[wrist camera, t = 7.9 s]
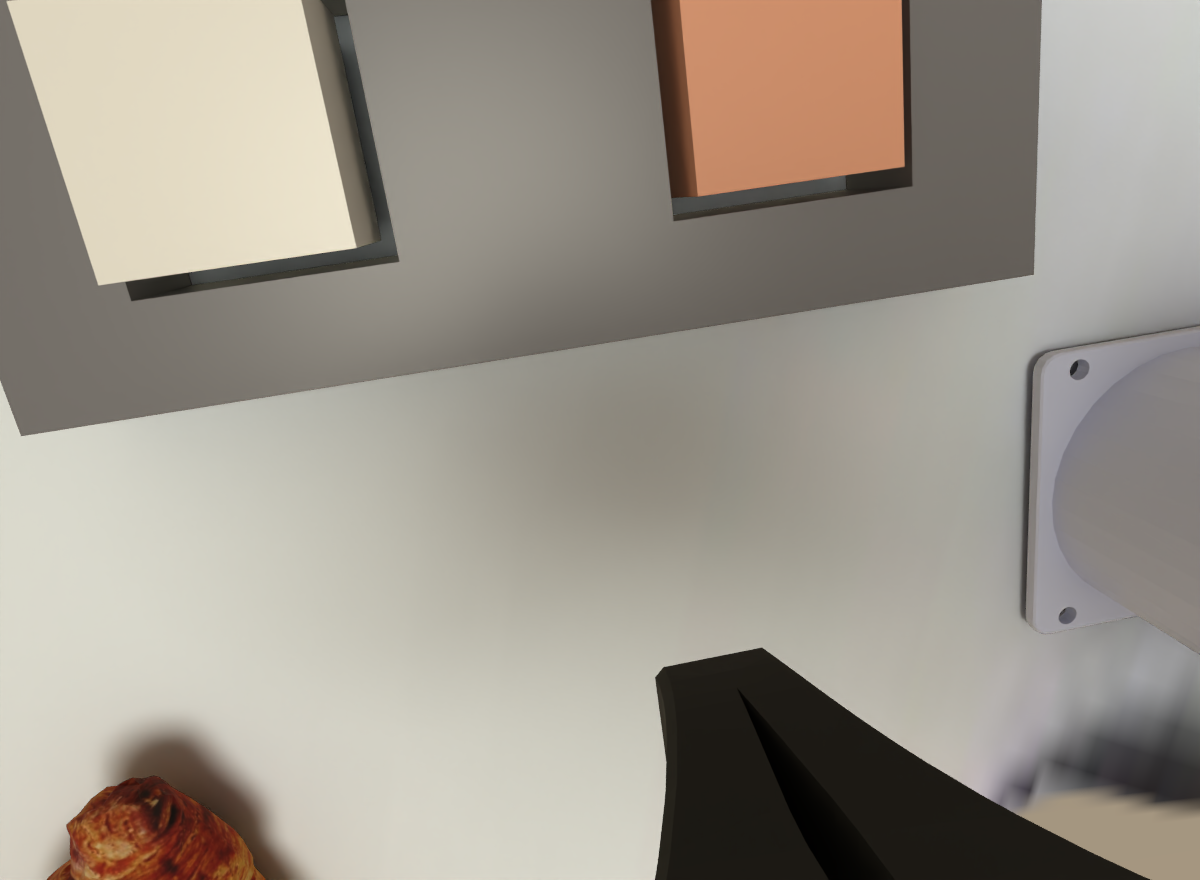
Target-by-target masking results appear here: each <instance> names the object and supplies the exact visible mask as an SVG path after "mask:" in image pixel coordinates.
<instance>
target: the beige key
mask: <svg viewBox="0 0 1200 880" xmlns="http://www.w3.org/2000/svg"><path fill="white" fill-rule="evenodd" d="M7 5H8V8H9V11H10V14H11V17H12V20H13V23H14V26H15V29H16V32H17V35H18V39H19V42H20V45H21V48H22V51H23V54H24V57H25V60H26V63H27V66H28V69H29V73H30V76H31V79H32V82H33V85H34V88H35V91H36V94H37V97H38V100H39V103H40V107H41V110H42V113H43V116H44V119H45V122H46V125H47V128H48V131H49V134H50V137H51V141H52V144H53V147H54V150H55V153H56V156H57V159H58V162H59V165H60V168H61V171H62V175H63V178H64V181H65V184H66V187H67V190H68V193H69V196H70V199H71V202H72V205H73V209H74V212H75V215H76V218H77V221H78V224H79V227H80V230H81V233H82V236H83V239H84V243H85V246H86V249H87V252H88V255H89V258H90V261H91V264H92V267H93V270H94V273H95V276H96V280H97V283H98V285H105V284H112V283H119V282H126V281H133V280H140V279H146V278H153V277H160V276H167V275H174V274H181V273H188V272H195V271H202V270H209V269H215V268H222V267H229V266H236V265H243V264H250V263H257V262H264V261H271V260H277V259H284V258H291V257H298V256H305V255H312V254H319V253H326V252H333V251H340V250H346V249H353V248H358V247H361V246H365V245H368V244H371V243H374V242H378V241H381V237H380V232H379V227H378V222H377V218H376V213H375V208H374V204H373V199H372V194H371V190H370V185H369V180H368V176H367V171H366V166H365V161H364V157H363V152H362V147H361V143H360V138H359V133H358V129H357V124H356V119H355V115H354V110H353V105H352V100H351V96H350V91H349V86H348V82H347V77H346V72H345V68H344V63H343V58H342V54H341V49H340V44H339V39H338V35H337V30H336V25H335V21H334V16H333V15H332V13H331V12H330V11H329V10H328V9H327V7H326V6H325V5H324V4H323V3H322V1H321V0H12V1H7Z"/></svg>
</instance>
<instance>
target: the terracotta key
mask: <svg viewBox="0 0 1200 880" xmlns="http://www.w3.org/2000/svg"><path fill="white" fill-rule="evenodd" d="M651 9H652V19H653V28H654V38H655V47H656V57H657V67H658V76H659V86H660V96H661V105H662V115H663V124H664V134H665V144H666V153H667V163H668V173H669V182H670V192H671V198H677V197H698V196H705V195H712V194H719V193H726V192H733V191H740V190H746V189H753V188H760V187H767V186H774V185H781V184H788V183H795V182H802V181H809V180H816V179H822V178H829V177H836V176H843V175H850V174H857V173H864V172H871V171H878V170H885V169H892V168H898V167H905V162H904V107H903V53H902V0H651Z"/></svg>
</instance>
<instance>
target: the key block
mask: <svg viewBox="0 0 1200 880" xmlns="http://www.w3.org/2000/svg"><path fill="white" fill-rule="evenodd" d="M7 1H12V0H0V381H1V383H2V386H3V389H4V391H5V394H6V397H7V399H8V402H9V405H10V407H11V410H12V413H13V415H14V418H15V421H16V423H17V426H18V429H19V431H20V434H21V436H25V435H31V434H38V433H44V432H50V431H57V430H63V429H69V428H75V427H82V426H88V425H94V424H100V423H107V422H113V421H119V420H126V419H132V418H138V417H144V416H151V415H157V414H163V413H169V412H176V411H182V410H188V409H194V408H201V407H207V406H213V405H220V404H226V403H232V402H238V401H245V400H251V399H257V398H263V397H270V396H276V395H282V394H289V393H295V392H301V391H307V390H314V389H320V388H326V387H332V386H339V385H345V384H351V383H358V382H364V381H370V380H376V379H383V378H389V377H395V376H401V375H408V374H414V373H420V372H426V371H433V370H439V369H445V368H452V367H458V366H464V365H470V364H477V363H483V362H489V361H495V360H502V359H508V358H514V357H521V356H527V355H533V354H539V353H546V352H552V351H558V350H564V349H571V348H577V347H583V346H590V345H596V344H602V343H608V342H615V341H621V340H627V339H633V338H640V337H646V336H652V335H659V334H665V333H671V332H677V331H684V330H690V329H696V328H702V327H709V326H715V325H721V324H727V323H734V322H740V321H746V320H753V319H759V318H765V317H771V316H778V315H784V314H790V313H796V312H803V311H809V310H815V309H822V308H828V307H834V306H840V305H847V304H853V303H859V302H865V301H872V300H878V299H884V298H891V297H897V296H903V295H909V294H916V293H922V292H928V291H934V290H941V289H947V288H953V287H959V286H966V285H972V284H978V283H985V282H991V281H997V280H1003V279H1010V278H1016V277H1022V276H1028V275H1034V247H1035V213H1036V179H1037V145H1038V111H1039V77H1040V42H1041V8H1042V0H902V53H903V107H904V162H905V167H898V168H892V169H885V170H878V171H871V172H864V173H857V174H850V175H846V179H847V190H840V191H833V192H826V193H819V194H812V195H806V196H799V197H792V198H785V199H778V200H771V201H765V202H758V203H751V204H744V205H737V206H731V207H724V208H717V209H710V210H703V211H696V212H690V213H683V214H676V215H673V211H672V201H671V192H670V182H669V173H668V163H667V153H666V144H665V134H664V124H663V115H662V105H661V96H660V86H659V76H658V67H657V57H656V47H655V38H654V28H653V19H652V9H651V0H321V1H322V3H323V4H324V5H325V6H326V7H327V9H328V10H329V11H330V12H331V13H332V15H333V16H340V15H348V17H349V22H350V27H351V31H352V36H353V41H354V46H355V51H356V55H357V60H358V65H359V70H360V75H361V79H362V84H363V89H364V94H365V99H366V103H367V108H368V113H369V118H370V123H371V127H372V132H373V137H374V142H375V147H376V151H377V156H378V161H379V166H380V171H381V175H382V180H383V185H384V190H385V195H386V200H387V204H388V209H389V214H390V219H391V224H392V228H393V233H394V238H395V243H396V248H397V252H398V255H396V256H389V257H382V258H375V259H369V260H362V261H355V262H348V263H341V264H334V265H328V266H321V267H314V268H307V269H300V270H293V271H287V272H280V273H273V274H266V275H259V276H252V277H246V278H239V279H232V280H225V281H218V282H211V283H205V284H198V285H191V282H190V278H189V275H188V273H181V274H174V275H167V276H160V277H153V278H146V279H140V280H133V281H126V282H119V283H112V284H105V285H98V283H97V280H96V276H95V273H94V270H93V267H92V264H91V261H90V258H89V255H88V252H87V249H86V246H85V243H84V239H83V236H82V233H81V230H80V227H79V224H78V221H77V218H76V215H75V212H74V209H73V205H72V202H71V199H70V196H69V193H68V190H67V187H66V184H65V181H64V178H63V175H62V171H61V168H60V165H59V162H58V159H57V156H56V153H55V150H54V147H53V144H52V141H51V137H50V134H49V131H48V128H47V125H46V122H45V119H44V116H43V113H42V110H41V107H40V103H39V100H38V97H37V94H36V91H35V88H34V85H33V82H32V79H31V76H30V73H29V69H28V66H27V63H26V60H25V57H24V54H23V51H22V48H21V45H20V42H19V39H18V35H17V32H16V29H15V26H14V23H13V20H12V17H11V14H10V11H9V8H8V5H7Z"/></svg>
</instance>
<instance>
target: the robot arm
mask: <svg viewBox="0 0 1200 880" xmlns="http://www.w3.org/2000/svg"><path fill="white" fill-rule="evenodd" d="M1075 361H1078V368H1077V371H1076V372H1075V373H1074V374H1073V375H1071V376H1070V368H1071V366H1072V364H1073V363H1074V362H1075ZM1065 608H1066V611H1065V612H1064V613H1063V614H1062V615H1061V616H1059V615H1060V612H1061V611H1062V610H1063V609H1065ZM1135 616H1139V617H1141V618H1143V619H1144V620H1146V621H1147V622H1149V623H1150V624H1152V625H1154V626H1155V627H1157V628H1158V629H1160V630H1161V631H1163V632H1165V633H1166V634H1168V635H1169V636H1171V637H1173V638H1174V639H1176V640H1177V641H1179V642H1180V643H1182V644H1184V645H1185V646H1187V647H1188V648H1190V649H1191V650H1193V651H1195V652H1196V653H1198V654H1199V655H1200V326H1197V327H1191V328H1185V329H1179V330H1173V331H1167V332H1161V333H1155V334H1149V335H1143V336H1137V337H1132V338H1126V339H1120V340H1114V341H1108V342H1102V343H1096V344H1090V345H1084V346H1078V347H1072V348H1066V349H1060V350H1054V351H1051V352H1048V353H1045V354H1044V355H1043V356H1042V357H1040V358H1039V359H1038V361H1037V363H1036V364H1035V367H1034V371H1033V392H1032V425H1031V458H1030V491H1029V524H1028V557H1027V590H1026V620H1027V623H1028V624H1029V625H1030V626H1031V627H1032V628H1033V629H1034V630H1036V631H1037V632H1039V633H1041V634H1051V633H1056V632H1061V631H1066V630H1071V629H1076V628H1081V627H1086V626H1091V625H1096V624H1101V623H1105V622H1110V621H1115V620H1120V619H1125V618H1130V617H1135ZM655 679H656V687H657V694H658V702H659V709H660V717H661V724H662V732H663V739H664V747H665V754H666V762H667V763H666V793H665V805H664V814H663V823H662V831H661V840H660V849H659V858H658V865H657V871H656V877H655V880H1150V879H1148V878H1145V877H1143V876H1141V875H1138V874H1136V873H1134V872H1132V871H1130V870H1128V869H1125V868H1123V867H1121V866H1119V865H1117V864H1115V863H1113V862H1110V861H1108V860H1106V859H1104V858H1102V857H1100V856H1098V855H1095V854H1093V853H1091V852H1089V851H1087V850H1085V849H1083V848H1081V847H1079V846H1077V845H1075V844H1073V843H1071V842H1069V841H1068V840H1066V839H1064V838H1062V837H1060V836H1058V835H1056V834H1054V833H1052V832H1050V831H1048V830H1046V829H1044V828H1042V827H1040V826H1038V825H1036V824H1034V823H1032V822H1030V821H1028V820H1026V819H1024V818H1022V817H1020V816H1018V815H1016V814H1015V813H1013V812H1011V811H1009V810H1007V809H1006V808H1004V807H1002V806H1000V805H998V804H996V803H995V802H993V801H991V800H989V799H987V798H986V797H984V796H982V795H980V794H979V793H977V792H975V791H974V790H972V789H970V788H969V787H967V786H965V785H963V784H962V783H960V782H958V781H957V780H955V779H953V778H952V777H950V776H948V775H947V774H945V773H943V772H942V771H940V770H938V769H937V768H935V767H933V766H932V765H930V764H928V763H927V762H925V761H923V760H922V759H920V758H919V757H917V756H916V755H914V754H912V753H911V752H909V751H908V750H906V749H905V748H903V747H901V746H900V745H898V744H897V743H895V742H894V741H892V740H891V739H889V738H888V737H886V736H885V735H883V734H882V733H880V732H879V731H877V730H876V729H874V728H873V727H871V726H870V725H869V724H867V723H866V722H864V721H863V720H861V719H860V718H858V717H857V716H855V715H854V714H853V713H851V712H850V711H848V710H847V709H845V708H844V707H843V706H841V705H840V704H838V703H837V702H836V701H834V700H833V699H832V698H830V697H829V696H827V695H826V694H825V693H823V692H822V691H821V690H819V689H818V688H816V687H815V686H814V685H812V684H811V683H810V682H808V681H807V680H806V679H804V678H803V677H801V676H800V675H799V674H797V673H796V672H795V671H793V670H792V669H791V668H789V667H788V666H787V665H785V664H784V663H782V662H781V661H780V660H778V659H777V658H776V657H774V656H773V655H771V654H770V653H769V652H767V651H766V650H765V649H763V648H758V649H753V650H748V651H743V652H738V653H733V654H728V655H723V656H718V657H713V658H708V659H703V660H698V661H693V662H688V663H683V664H678V665H673V666H668V667H663V669H662V670H661V671H660V672H659V674H658V675H657V676H656V677H655Z"/></svg>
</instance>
